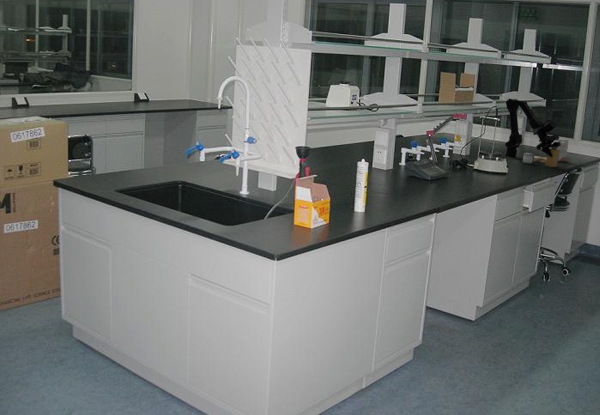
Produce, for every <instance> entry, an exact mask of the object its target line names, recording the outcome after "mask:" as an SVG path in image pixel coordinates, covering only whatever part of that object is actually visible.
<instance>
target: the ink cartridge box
mask: <svg viewBox="0 0 600 415" xmlns="http://www.w3.org/2000/svg"><path fill="white" fill-rule="evenodd" d="M557 142H560V144H561V145H560V146H559V147H557V150H560V151H559V156H558V162H566V160H567V159H566V158H567V153H568V146H569V140H567V139H559V140H557Z"/></svg>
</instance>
